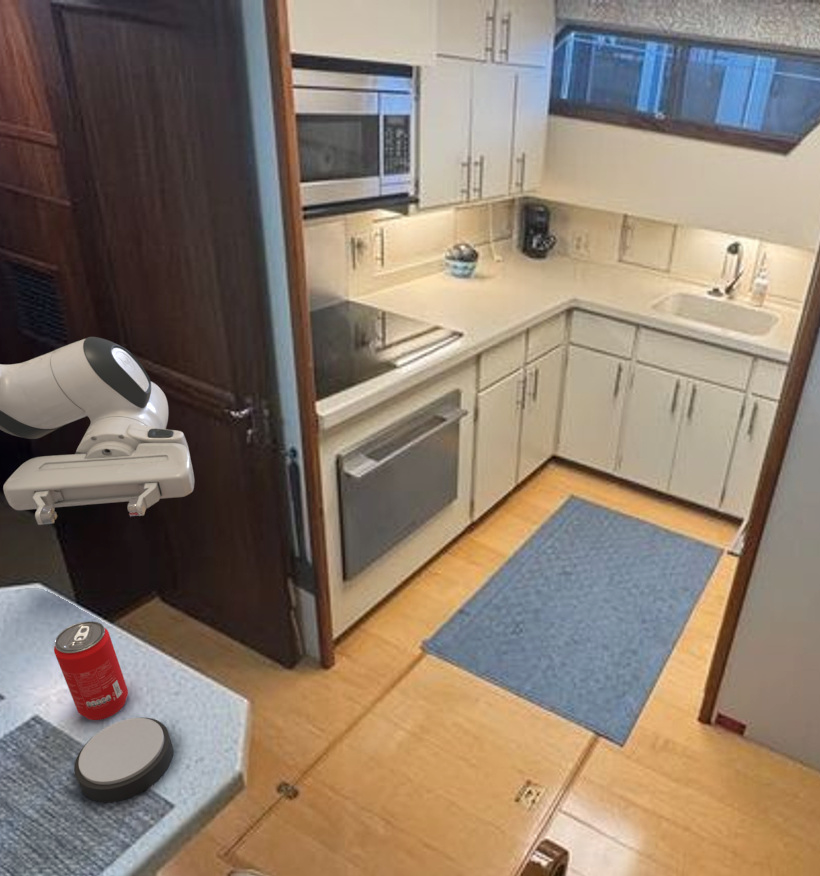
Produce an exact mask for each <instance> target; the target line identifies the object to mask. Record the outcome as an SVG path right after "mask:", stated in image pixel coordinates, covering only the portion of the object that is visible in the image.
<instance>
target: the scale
mask: <svg viewBox="0 0 820 876" xmlns="http://www.w3.org/2000/svg"><path fill="white" fill-rule="evenodd" d="M173 756H174V746H173V742H172V740H171V735H170V732H169V730H168V728H167V727H166V726H165V724H163V723H162V722H161V721H159V720H157V719H155V718H150V717H143V716H142V717H130V718H127V719H122V720H119V721H116V722H113V723H112V724H109V725H108V726H106V727H104V728H103V729H101V730H100V731H98V732H97V733H96V734H94V735H93V736H91V738H89V740H88V741H87V742H86V743H85V744H84V745H83V746H82V748H81V749H80V750H79V752H78V754H77V756H76V759H75V762H74V767H73V768H74V769H73V771H74V776H75V778H76V780H77V783H78V785H79V787H80V789H81V792H82V793H83V794H84V795H85V796H86V798H89V799H90V800H92V801H96V802H99V803H113V802H114V803H115V802H120V801H125V800H128V799H130V798H133V797H136V796H138V795H139V794H141V793H143V792H144V791H146V790H148V789H149V788H150V787H153V785H154V784H155V783H157V782H158V781H159V780H160V779H161V778H162V777H163V775H165V773H166V771H167V770H168V768H169V767H170V764H171V762H172V760H173Z"/></svg>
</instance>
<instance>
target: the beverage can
mask: <svg viewBox="0 0 820 876" xmlns="http://www.w3.org/2000/svg"><path fill="white" fill-rule="evenodd" d="M53 653H54V655H55V658H56V660H57V662H58V665H59V667H60V670H61V673H62V675H63V678H64V680H65V683H66V686H67V688H68V690H69V693H70V696H71V698H72V701H73V703H74V706H75V707H76V710H77V712H78V714H79V715H81V716H83V717H85V719H87V720H89V721H95V722H96V721H97V722H98V721H104V720H106V719H109V718H112V717H113V716H115V715H117V714H118V713H119V712H120V711H121V710H122V709H123V708H124V706H125V705H126V702H127V698H128V695H129V690H128V686H127V683H126V680H125V677H124V674H123V671H122V668H121V665H120V663H119V662H120V661H119V660H118V656H117V653H116V650H115V647H114V644H113V641H112V639H111V636H110V632H109V630H108V629H107V628H106V627H105V626H104V625H103V624H102V623H100V622H99V621H98V622H97V621H92V620H91V621H87V620H86V621H82V622H78V623H75V624H72V625H70V626H68V627H67V628H65V629H63V630H62V631H60V632H59V634H58V635H57V636H56V638H55V640H54V647H53Z"/></svg>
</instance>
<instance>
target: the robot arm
mask: <svg viewBox="0 0 820 876" xmlns="http://www.w3.org/2000/svg"><path fill="white" fill-rule="evenodd" d="M86 417H88V418H89V420H90V421H89V422H90V424H89V426H88V428H87V429H86V431H85V433H84V435H83V437H82V439H81V441H80V442H79V445H78V446H77V448H76V451H75V453H74V454H58V455H57V454H56V455H44V456H36V457H32V458H30V459H28V460H26V461H25V462H23V463H22V464H20V466H19V467H18V468H17V469H16V470H15V471H14V472H13V473H12V474H11V475H10V476H9V477H8V478H7V479H6V481H5V482H4V484H3V488H2V490H3V494H4V496H5V499H6V501H7V503H8V505H9V506H10V507H11V508H12V509H13V510H15V511H28V510H36V511H35V513H34V519H35V521H36V523H37V525H38V526H42V525H53V524H55V521H56V520H57V518H58V514H57V511H55V509H56V508H63V507H76V506H88V505H100V504H111V503H112V504H113V503H124V502H128V503H127V506H126V507H127V512H129V513H128V516H129V517H130V518H131V517H143V516H145V513H146V510H147V509H149V508H150V507H152V506H154V505H155V504H156V503H158V502H159V501H160V500H161V499H162V500H163V499H173V498H174V499H175V498H183V497H186V496H188V495H190V494H191V493H193V492H194V490H195V489H194V488H195V474H194V469H193V464H192V460H191V454H190V449H189V444H188V442H187V439H186V436H185V434H184V432H183V431H181V430H175V429H168V428H167V426H168V422H169V403H168V399H167V396H166V394H165V393H164V391H163V390H162V388H160V387H159V385H158V384H156V383H155V382H153V381H151V379H150V377H149V375H148V373H147V371H146V369H145V368H144V367H143V365H142V363H140V361H139V360H138V359H137V358H136V357H135V355H133V353H131V352H130V351H129V350H128V349H127V348H125V347H123V346H121V345H120V344H117V343H115V342H113V341H111V340H109V339H107V338H106V339H105V338H102V337H98V336H87V337H86V338H82V339H81V340H77V341H74V342H72V343H69V344H66V345H64V346H61V347H59V348H56V349H54V350H52V351H49V352H47V353H45V354H41V355H39V356H36V357H34V358H31V359H29V360H26V361H23V362H19V363H12V364H1V363H0V431H3V433H6V434H9V435H10V436H15V437H19V438H23V439H29V440H36V439H40V438H43V437H45V436H46V435H49V434H50V433H53V432H55V431H56V430H59V429H61V428H63V427H64V426H65V425H68V424H70V423H73V422H76V421H78V420H81V419H84V418H86Z"/></svg>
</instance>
